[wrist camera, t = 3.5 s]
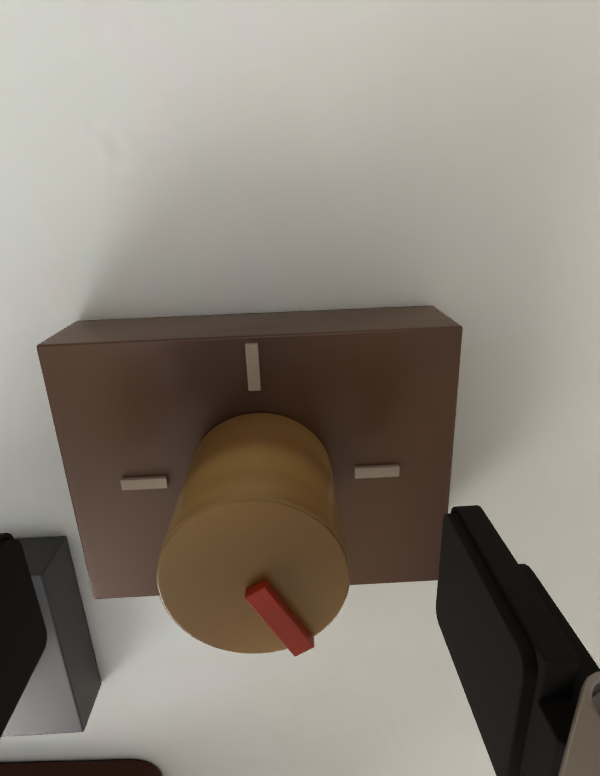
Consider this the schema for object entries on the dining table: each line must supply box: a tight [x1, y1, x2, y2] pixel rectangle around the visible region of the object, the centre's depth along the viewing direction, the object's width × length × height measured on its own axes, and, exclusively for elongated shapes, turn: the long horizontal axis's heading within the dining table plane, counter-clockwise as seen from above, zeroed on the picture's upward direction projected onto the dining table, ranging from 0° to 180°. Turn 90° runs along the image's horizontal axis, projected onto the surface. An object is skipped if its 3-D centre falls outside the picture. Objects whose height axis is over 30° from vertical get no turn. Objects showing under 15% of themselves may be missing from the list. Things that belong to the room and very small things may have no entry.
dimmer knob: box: [156, 413, 351, 656], centre depth 13 cm, size 4×4×5 cm
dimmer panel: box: [37, 306, 462, 599], centre depth 17 cm, size 12×9×3 cm
